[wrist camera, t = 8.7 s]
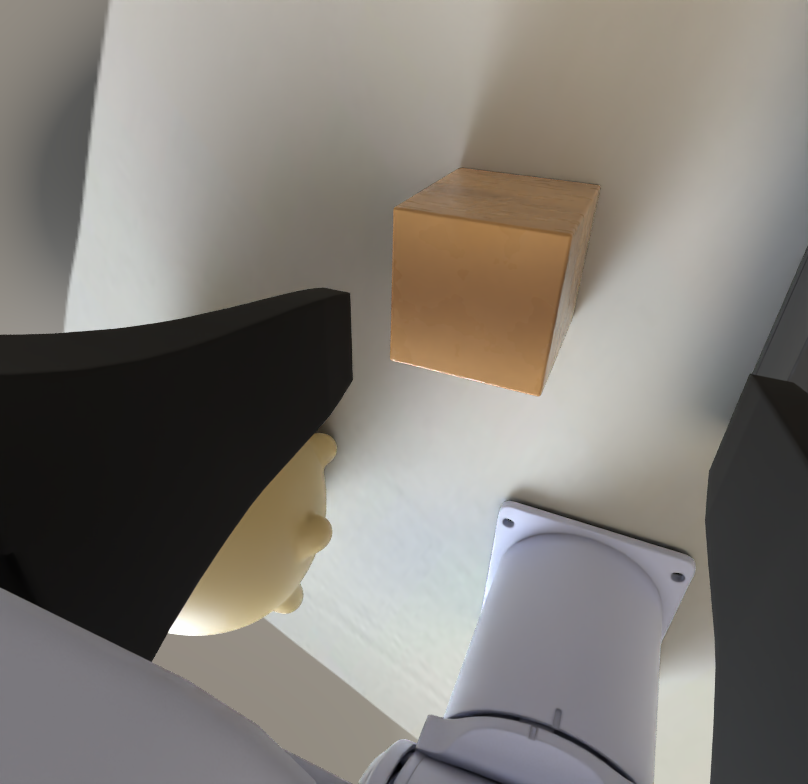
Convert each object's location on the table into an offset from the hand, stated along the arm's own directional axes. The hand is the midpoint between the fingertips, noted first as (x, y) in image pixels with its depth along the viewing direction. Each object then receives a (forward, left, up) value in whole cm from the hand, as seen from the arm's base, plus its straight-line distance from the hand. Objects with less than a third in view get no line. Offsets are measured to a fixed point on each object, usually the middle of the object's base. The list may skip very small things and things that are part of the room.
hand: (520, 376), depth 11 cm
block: (-1, +2, -10) cm, 10 cm away
